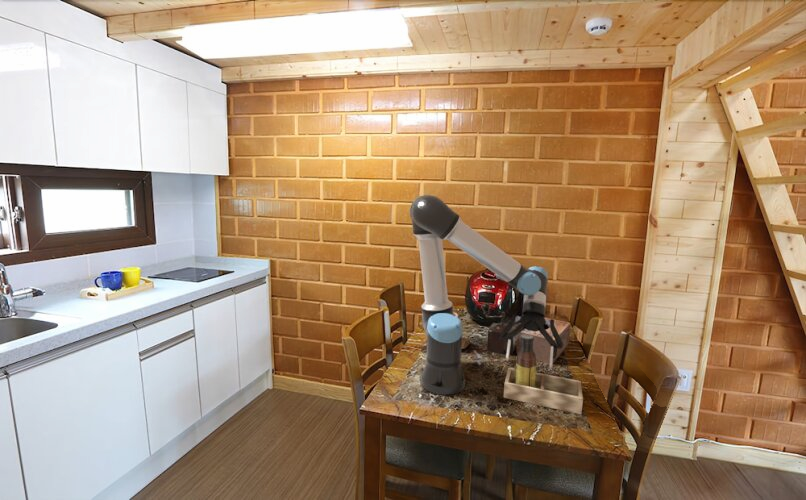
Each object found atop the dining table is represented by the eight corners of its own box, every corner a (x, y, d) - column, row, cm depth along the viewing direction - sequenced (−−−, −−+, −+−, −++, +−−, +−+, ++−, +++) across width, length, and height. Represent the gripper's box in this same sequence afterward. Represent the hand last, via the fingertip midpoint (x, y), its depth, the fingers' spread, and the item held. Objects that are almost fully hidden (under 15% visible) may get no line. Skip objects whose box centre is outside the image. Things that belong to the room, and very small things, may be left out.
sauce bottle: (530, 387, 128) (535, 332, 125) (537, 397, 122) (542, 339, 119) (511, 387, 128) (515, 332, 125) (517, 397, 122) (522, 339, 119)
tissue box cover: (536, 336, 176) (537, 316, 175) (568, 344, 168) (570, 322, 166) (516, 354, 156) (517, 331, 154) (552, 364, 147) (554, 340, 146)
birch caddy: (503, 397, 122) (504, 383, 121) (507, 380, 133) (508, 367, 132) (581, 414, 113) (582, 399, 113) (579, 395, 124) (580, 381, 124)
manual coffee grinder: (515, 346, 163) (518, 306, 161) (511, 356, 153) (514, 313, 151) (480, 339, 170) (482, 301, 167) (474, 348, 160) (476, 308, 157)
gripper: (571, 316, 133) (568, 374, 121) (499, 306, 142) (490, 360, 130) (573, 305, 127) (571, 365, 116) (498, 296, 136) (489, 351, 125)
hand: (528, 363), depth 123 cm, fingers open, 13 cm apart
